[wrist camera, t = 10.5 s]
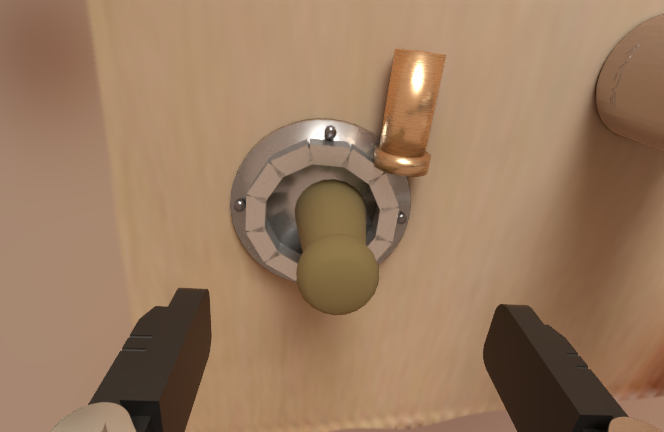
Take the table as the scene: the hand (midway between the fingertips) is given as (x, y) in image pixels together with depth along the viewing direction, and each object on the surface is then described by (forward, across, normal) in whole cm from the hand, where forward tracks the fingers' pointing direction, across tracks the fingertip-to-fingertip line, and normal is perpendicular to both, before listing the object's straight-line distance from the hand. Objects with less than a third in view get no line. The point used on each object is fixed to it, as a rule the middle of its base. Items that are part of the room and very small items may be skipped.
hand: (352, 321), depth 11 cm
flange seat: (+22, 0, +6) cm, 23 cm away
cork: (+22, -1, +7) cm, 23 cm away
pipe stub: (+22, -6, -2) cm, 23 cm away
